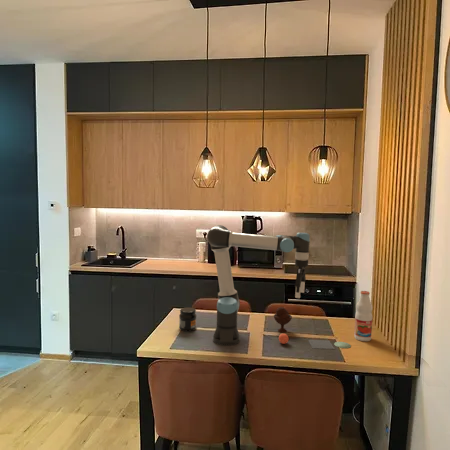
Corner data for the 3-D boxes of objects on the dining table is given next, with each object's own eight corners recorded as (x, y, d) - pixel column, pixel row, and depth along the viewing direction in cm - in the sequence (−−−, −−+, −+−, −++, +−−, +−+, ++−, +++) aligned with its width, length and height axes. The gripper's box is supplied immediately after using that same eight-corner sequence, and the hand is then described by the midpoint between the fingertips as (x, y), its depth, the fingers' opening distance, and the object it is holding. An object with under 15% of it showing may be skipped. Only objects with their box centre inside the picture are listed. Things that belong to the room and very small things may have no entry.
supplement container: (199, 328, 233) (200, 309, 232) (188, 333, 224) (188, 313, 223) (187, 324, 239) (187, 306, 238) (175, 329, 230) (175, 310, 229)
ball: (279, 345, 209) (279, 335, 208) (277, 341, 214) (278, 332, 214) (289, 345, 209) (289, 335, 208) (287, 341, 214) (287, 332, 214)
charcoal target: (312, 348, 205) (312, 348, 205) (308, 340, 217) (308, 339, 217) (334, 349, 205) (334, 348, 205) (329, 340, 217) (329, 340, 217)
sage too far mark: (336, 348, 207) (336, 347, 207) (332, 341, 216) (332, 341, 216) (353, 348, 207) (353, 348, 207) (348, 342, 216) (348, 341, 216)
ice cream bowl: (291, 334, 225) (292, 310, 224) (272, 333, 227) (273, 308, 226) (291, 328, 236) (292, 305, 234) (273, 327, 238) (274, 303, 237)
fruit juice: (366, 335, 227) (369, 289, 225) (374, 341, 218) (376, 293, 215) (351, 335, 226) (353, 289, 224) (358, 341, 217) (360, 293, 215)
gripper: (304, 263, 207) (302, 301, 208) (311, 256, 230) (309, 291, 232) (291, 261, 209) (289, 299, 211) (299, 255, 233) (297, 289, 234)
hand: (299, 295), depth 221 cm, fingers open, 13 cm apart
